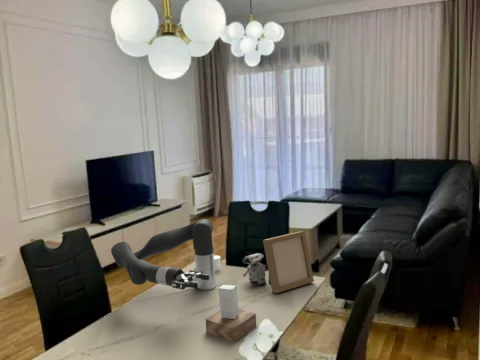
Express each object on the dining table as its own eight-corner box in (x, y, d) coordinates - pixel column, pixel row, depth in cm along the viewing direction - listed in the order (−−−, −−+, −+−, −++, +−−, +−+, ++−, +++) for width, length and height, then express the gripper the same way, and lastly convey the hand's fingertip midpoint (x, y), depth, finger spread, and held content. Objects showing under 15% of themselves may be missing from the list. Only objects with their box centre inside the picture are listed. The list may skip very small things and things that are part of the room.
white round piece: (208, 267, 242) (207, 255, 241) (221, 266, 243) (220, 254, 241) (208, 272, 235) (208, 259, 234) (221, 271, 236) (220, 258, 235)
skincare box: (239, 314, 172) (236, 285, 170) (235, 319, 168) (232, 289, 166) (225, 313, 174) (222, 284, 173) (220, 317, 170) (218, 288, 169)
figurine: (239, 283, 217) (238, 254, 215) (259, 278, 223) (258, 250, 220) (249, 289, 209) (247, 259, 207) (269, 284, 215) (268, 254, 212)
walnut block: (206, 333, 171) (205, 319, 170) (228, 319, 182) (228, 305, 181) (234, 343, 163) (233, 328, 162) (256, 327, 174) (255, 313, 173)
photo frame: (314, 283, 213) (312, 233, 209) (277, 295, 202) (274, 242, 198) (295, 274, 225) (293, 227, 222) (259, 285, 214) (256, 235, 211)
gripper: (180, 278, 188) (213, 283, 180) (160, 291, 175) (194, 297, 168) (179, 262, 187) (211, 266, 179) (158, 274, 174) (192, 279, 167)
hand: (203, 281), depth 174 cm, fingers open, 8 cm apart
